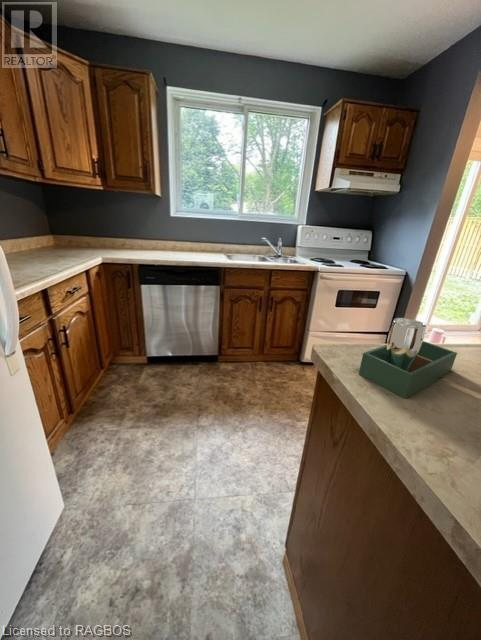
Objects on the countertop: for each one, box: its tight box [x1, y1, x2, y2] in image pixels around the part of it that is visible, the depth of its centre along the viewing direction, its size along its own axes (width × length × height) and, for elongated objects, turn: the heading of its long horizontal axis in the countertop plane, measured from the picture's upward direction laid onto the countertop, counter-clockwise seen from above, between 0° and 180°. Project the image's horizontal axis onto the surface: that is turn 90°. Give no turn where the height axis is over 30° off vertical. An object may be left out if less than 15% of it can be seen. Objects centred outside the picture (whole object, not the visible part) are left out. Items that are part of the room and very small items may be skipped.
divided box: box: [358, 340, 458, 400], centre depth 69 cm, size 22×12×6 cm, turn 122°
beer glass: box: [386, 317, 427, 372], centre depth 64 cm, size 7×7×15 cm
